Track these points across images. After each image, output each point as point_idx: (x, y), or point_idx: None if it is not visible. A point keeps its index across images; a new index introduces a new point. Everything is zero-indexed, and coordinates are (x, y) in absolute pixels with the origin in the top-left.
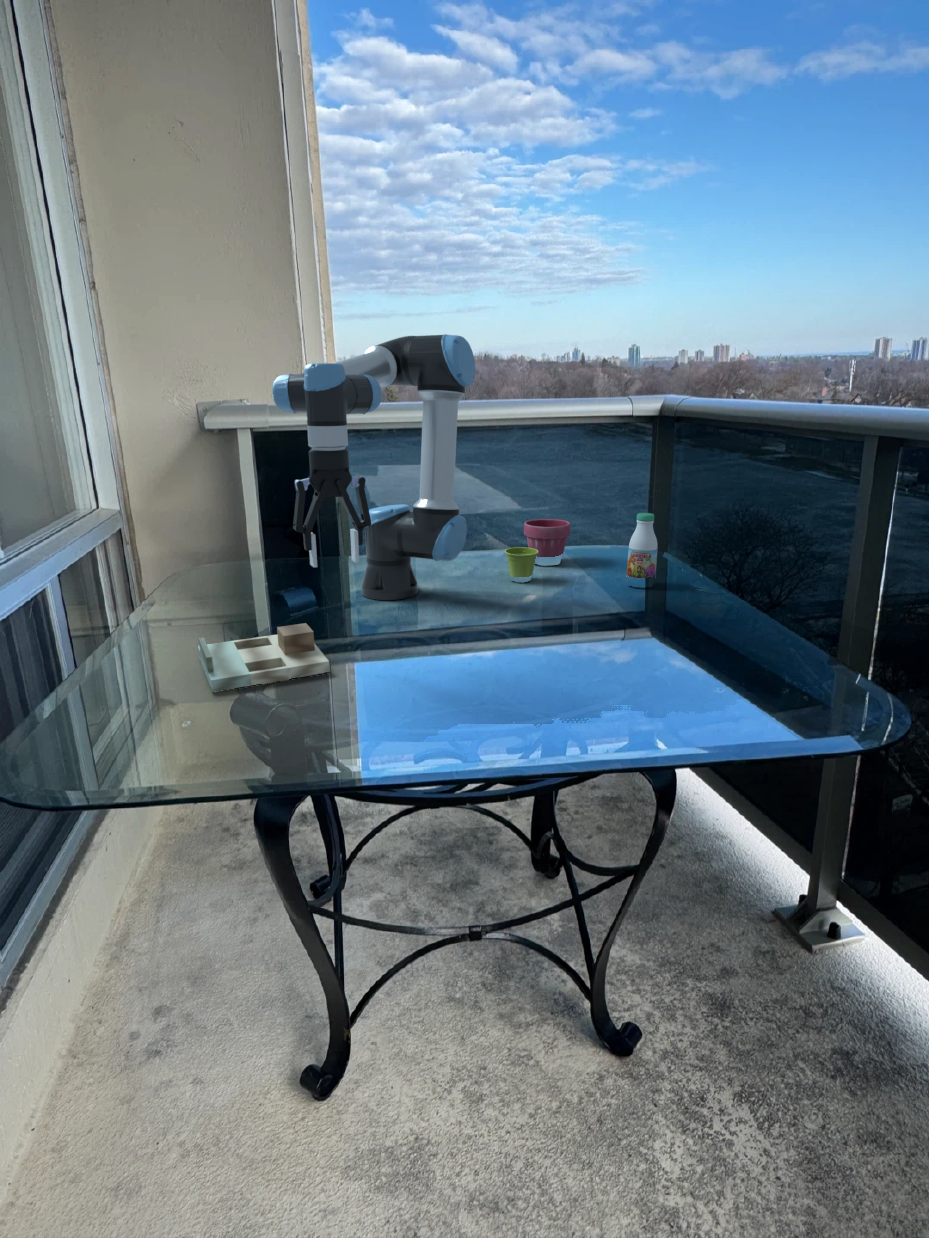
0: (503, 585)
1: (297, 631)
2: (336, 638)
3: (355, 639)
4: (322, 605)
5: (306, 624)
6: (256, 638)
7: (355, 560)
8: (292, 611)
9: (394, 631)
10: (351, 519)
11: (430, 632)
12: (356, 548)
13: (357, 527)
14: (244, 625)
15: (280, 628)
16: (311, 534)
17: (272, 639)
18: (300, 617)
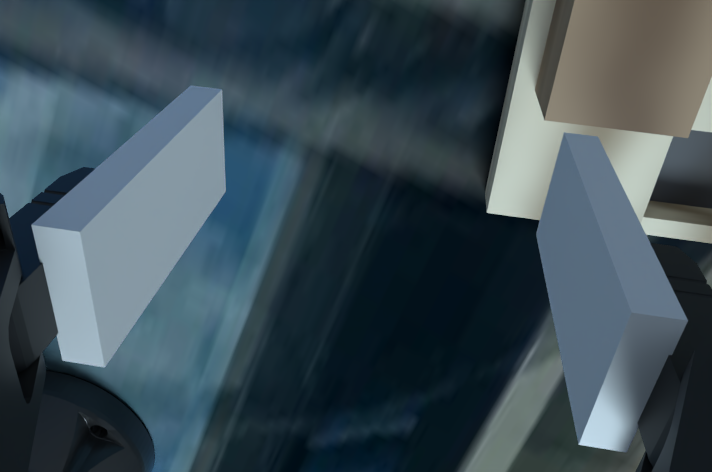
0: None
1: (645, 22)
2: (369, 159)
3: (309, 112)
4: (293, 444)
5: (552, 100)
6: (685, 227)
7: (215, 98)
8: (395, 446)
9: (146, 113)
10: (14, 417)
11: (16, 26)
12: (158, 136)
13: (4, 258)
14: None
15: (686, 110)
16: (662, 351)
17: (641, 185)
18: (395, 393)
